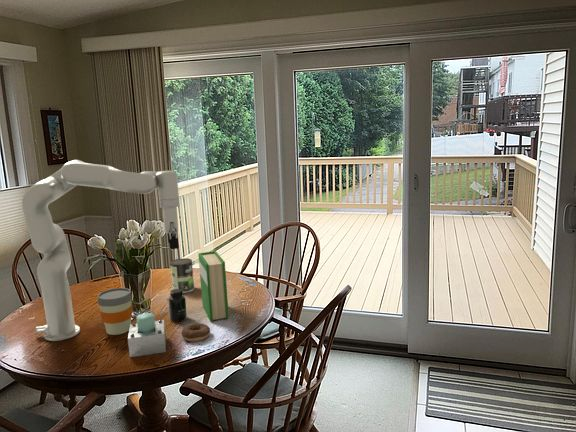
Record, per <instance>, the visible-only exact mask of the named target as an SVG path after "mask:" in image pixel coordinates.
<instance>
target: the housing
mask: <svg viewBox="0 0 576 432" xmlns="http://www.w3.org/2000/svg"><path fill="white" fill-rule="evenodd" d="M127 336H128V337H127V344H128V352H129V358H134V357H135V358H136V357H141V356H142V357H143V356H149V355H153V354H154V355H155V354H161V353H162V354H163V353H166V352H167V334H166V326H165V319H158V320H155V330H154V331H153V332H145V333H139V332H138V327H137V322H133V323H131V324H130V329H129V331H128V335H127Z"/></svg>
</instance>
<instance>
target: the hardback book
mask: <svg viewBox="0 0 576 432" xmlns="http://www.w3.org/2000/svg"><path fill="white" fill-rule="evenodd" d="M225 262H226V261H225V260H224V259H223V257H221V255H220V254H219V253H218V252H217V251H216V250H213V251H206V252H198V264H199V265H198V266H199V277H200V287H201V288H200V289H201V302H202V308H203V310H204V312H205V314H206V316H207V318H208V320H209V322H210V323H214V320H219V319H226V320H230V318H229V316H230V315H229V314H230V313H229V303H228V301H229V299H228V290H227V289H228V288H227V275H226V274H227V272H226V263H225Z"/></svg>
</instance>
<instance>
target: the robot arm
mask: <svg viewBox="0 0 576 432" xmlns="http://www.w3.org/2000/svg"><path fill="white" fill-rule="evenodd" d="M178 184H179V182H178V174H177V172H176V171H175V170H162V171H150V170H149V171H148V170H145V171H141V172H134V171H133V172H131V171H127V170H126V171H125V170H121V169H118V168H115V167H114V166H111V165H107V164H105V165H104V164H96V163H95V164H94V163H90V162H89V163H88V162H84V161H82V160H80V159H73V160H70V161H68V162H66V163H64V164H63V165H62V166H61V168H59V170H57V171H55V172H54V173H53V174H51V175H49V176H47V177H46V178H44V179H41V180H40V181H37V182H35V183H34V184H32V185H31V186H30V187H29V188H28V189H27V190H26V191H25V193H24V195H22V199H21V208H22V212H23V216H24V219H25V223H26V227H27V231H28V234H29V237H30V240H31V245H32V248H33V249H34V250H35V251H36V252H38V253H40V254H42V255H43V258H42V259H41V260H40V262H39V263H38V265H37V269H36V274H37V278H38V282H39V284H40V289H41V296H42V301H43V302H42V303H43V308H44V314H45V319H46V320H45V321H46V324H45V325H39V326H35V332H37V334H42V333H44V334H43V336H44V337H43V338H44V339H45V340H46V341H51V342H58V341H59V342H60V341H65V340H68V339H71V338H73V337H75V336H77V335H78V334H79V333H80V332H81V327H80V326H79V325H77V324H76V323H75V316H74V310H73V302H72V295H71V290H70V283H69V280H68V276H67V272H68V270H69V268H70V267H71V264H72V256H71V252H70V249H69V245H68V241H67V238H66V237H67V236H66V234H65V232H64V229H63V228H62V227H61V226H60V225H58V224H56V223H54V221H53V217H52V214H51V212H50V209H49V205H50V204H51V203H53V202H55V201H56V200H58V199H60V198H61V197H62V196H64V195H65V194H67V193H68V192H69V191H71V190H72V189H74V188H75V187H77V186H81V187H82V186H83V187H90V188H91V187H93V188H98V189H100V188H101V189H108V190H112V191H118V192H122V193H123V192H125V193H132V194H139V195H140V194H142V195H147V194H151V193H152V192H154V191H155V190H157V192H158V202H159V208H160V209H162V220H163V230H164V233H165V234H166V235H167V240H168V243H169V249H170V250H176V249H179V247H180V245H179V239H178V234H177V233H178V232H179V221H178V218H179V217H178V207H180V204H181V203H180V196H179V186H178Z"/></svg>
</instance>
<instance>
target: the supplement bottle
mask: <svg viewBox="0 0 576 432" xmlns="http://www.w3.org/2000/svg"><path fill="white" fill-rule="evenodd" d="M169 296H170V297H169V298H168V311H169V312H168V313H169V319H170V321H171V322H182V321H185V320H186V319H187V317H188V316H187V315H188V313H187V301H186V300H187V299H186V297H185V296H184V293H183V292H182V290H181V289H174V290H173V289H171V290H170V295H169Z"/></svg>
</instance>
